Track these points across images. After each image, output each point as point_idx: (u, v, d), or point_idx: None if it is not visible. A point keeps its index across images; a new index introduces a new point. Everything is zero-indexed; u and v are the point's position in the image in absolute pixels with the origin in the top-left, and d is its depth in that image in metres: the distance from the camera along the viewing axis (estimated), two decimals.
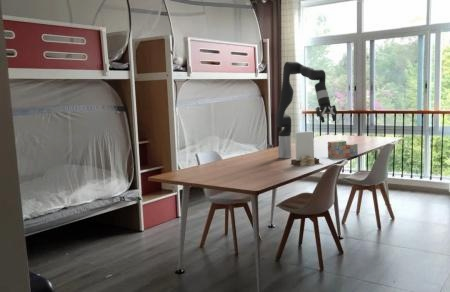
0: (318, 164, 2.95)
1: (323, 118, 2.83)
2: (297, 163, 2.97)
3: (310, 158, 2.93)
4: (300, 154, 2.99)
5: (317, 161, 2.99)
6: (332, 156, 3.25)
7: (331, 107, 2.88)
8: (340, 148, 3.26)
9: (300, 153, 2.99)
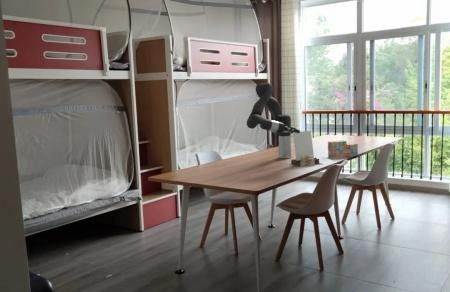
0: (318, 164, 2.95)
1: (289, 133, 2.99)
2: (297, 163, 2.97)
3: (310, 158, 2.93)
4: (299, 153, 3.00)
5: (317, 161, 2.99)
6: (332, 156, 3.25)
7: None
8: (340, 148, 3.26)
9: (300, 152, 3.00)
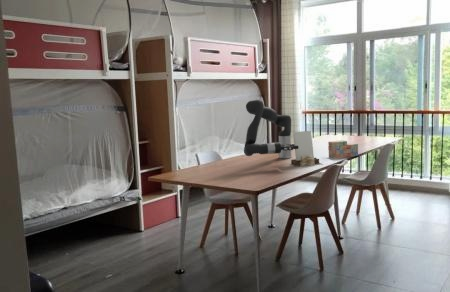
0: (318, 164, 2.95)
1: (291, 147, 3.03)
2: (297, 163, 2.97)
3: (310, 158, 2.93)
4: (299, 153, 3.00)
5: (317, 161, 2.99)
6: (333, 156, 3.25)
7: None
8: (341, 148, 3.26)
9: (300, 152, 3.00)
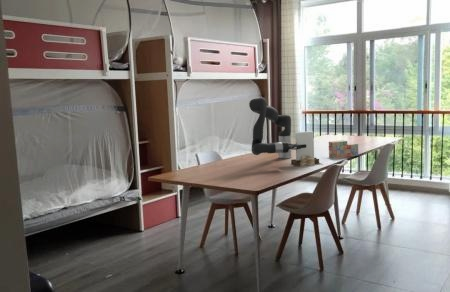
0: (318, 164, 2.95)
1: None
2: (297, 163, 2.97)
3: (310, 158, 2.93)
4: (300, 154, 2.99)
5: (317, 161, 2.99)
6: (333, 156, 3.25)
7: (293, 147, 2.95)
8: (341, 148, 3.26)
9: (300, 153, 2.99)
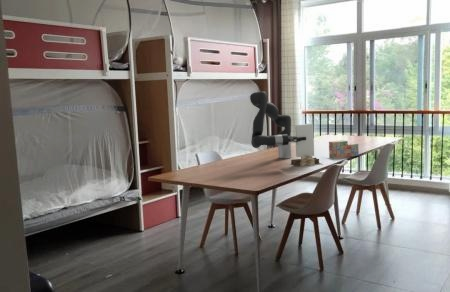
0: (318, 164, 2.95)
1: None
2: (297, 163, 2.97)
3: (310, 158, 2.93)
4: (299, 147, 2.98)
5: (317, 161, 2.99)
6: (334, 156, 3.25)
7: None
8: (341, 148, 3.26)
9: (300, 146, 2.98)
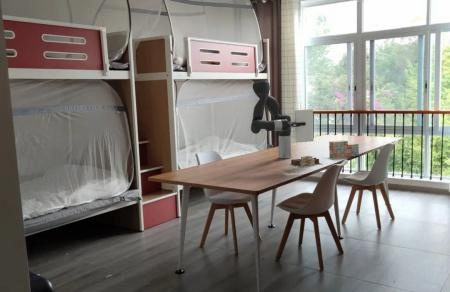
0: (318, 164, 2.95)
1: None
2: (297, 163, 2.97)
3: (310, 158, 2.93)
4: (299, 132, 2.97)
5: (317, 161, 2.99)
6: (334, 156, 3.25)
7: None
8: (342, 148, 3.26)
9: (300, 131, 2.97)
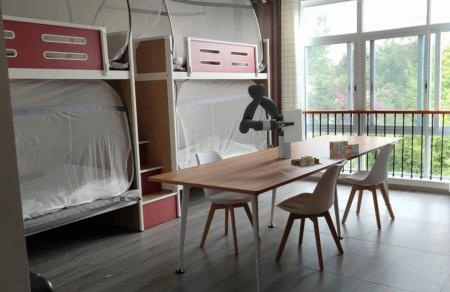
0: (318, 164, 2.95)
1: None
2: (297, 163, 2.97)
3: (310, 158, 2.93)
4: (287, 132, 2.95)
5: (317, 161, 2.99)
6: (334, 156, 3.25)
7: None
8: (342, 148, 3.26)
9: (288, 131, 2.95)
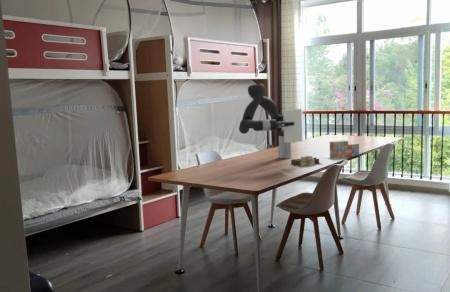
0: (318, 164, 2.95)
1: None
2: (297, 163, 2.97)
3: (310, 158, 2.93)
4: (287, 132, 2.95)
5: (317, 161, 2.99)
6: (335, 156, 3.25)
7: None
8: (342, 148, 3.26)
9: (288, 131, 2.95)
